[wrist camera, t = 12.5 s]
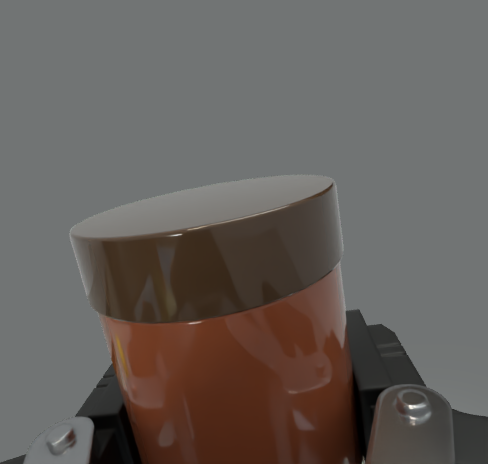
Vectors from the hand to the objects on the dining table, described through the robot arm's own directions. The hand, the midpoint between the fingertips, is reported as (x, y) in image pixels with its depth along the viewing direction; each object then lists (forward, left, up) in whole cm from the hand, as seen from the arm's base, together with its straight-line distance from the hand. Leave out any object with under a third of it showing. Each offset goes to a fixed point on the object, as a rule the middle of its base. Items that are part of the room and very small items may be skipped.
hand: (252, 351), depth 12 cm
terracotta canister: (0, -3, -6) cm, 7 cm away
